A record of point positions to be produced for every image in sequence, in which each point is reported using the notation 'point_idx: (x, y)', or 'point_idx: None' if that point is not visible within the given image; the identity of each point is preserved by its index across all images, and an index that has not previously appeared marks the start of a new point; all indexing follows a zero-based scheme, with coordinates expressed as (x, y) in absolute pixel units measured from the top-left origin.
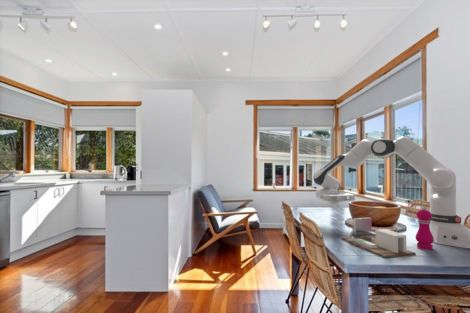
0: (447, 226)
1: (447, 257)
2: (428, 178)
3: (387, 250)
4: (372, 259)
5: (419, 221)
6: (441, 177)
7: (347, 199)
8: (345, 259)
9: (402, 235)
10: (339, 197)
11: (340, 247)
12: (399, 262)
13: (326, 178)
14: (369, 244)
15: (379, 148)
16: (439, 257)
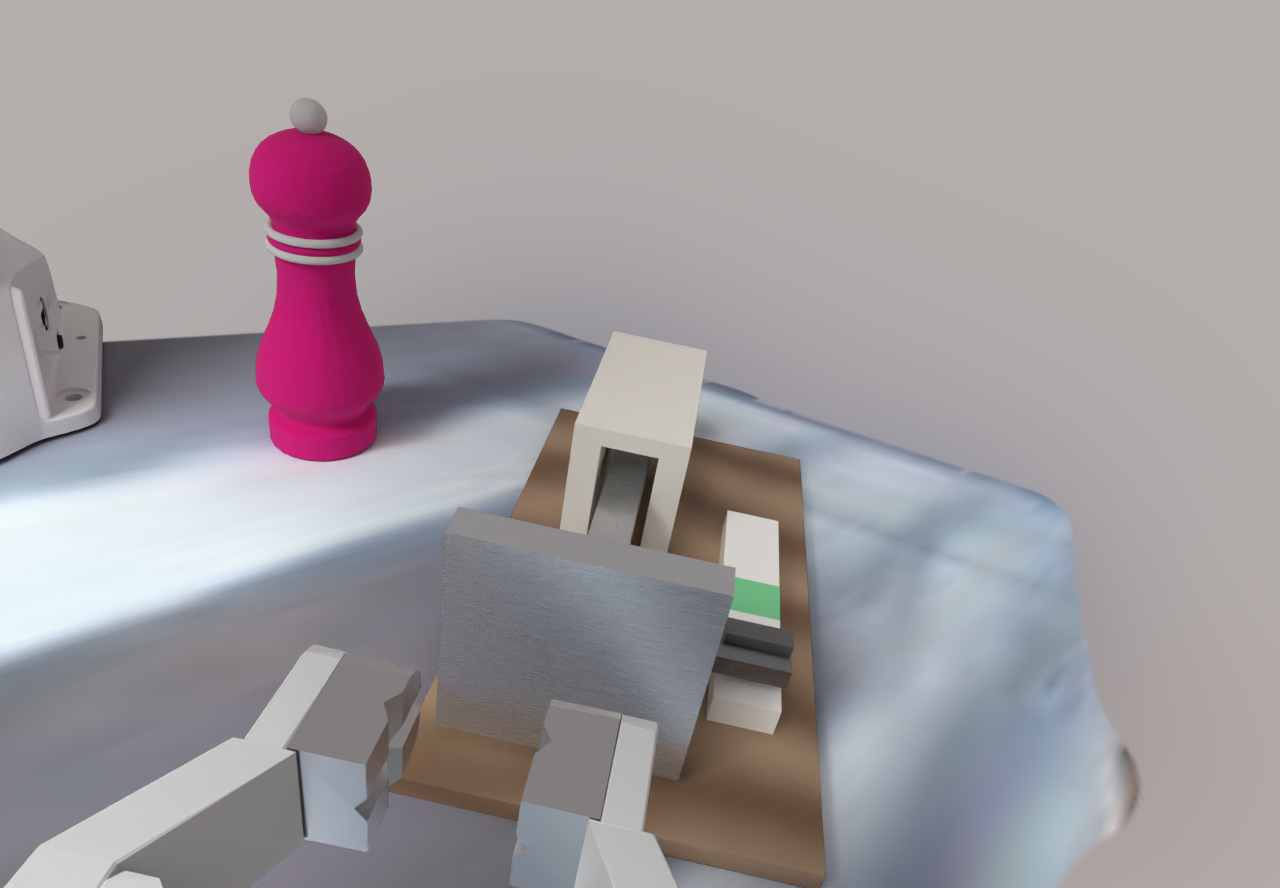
0: (7, 252)
1: (437, 356)
2: None
3: (692, 482)
4: (879, 487)
5: (353, 247)
6: None
7: (411, 703)
8: (1050, 544)
9: (644, 337)
10: (673, 883)
11: (983, 692)
12: (762, 424)
13: None
14: (777, 532)
15: None
16: (477, 370)
